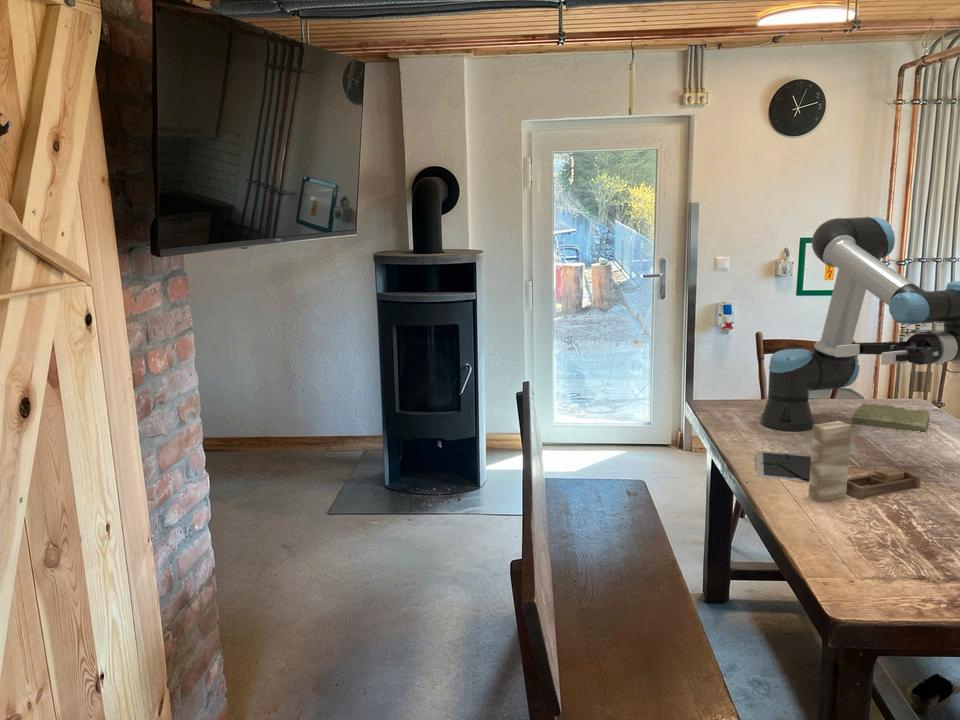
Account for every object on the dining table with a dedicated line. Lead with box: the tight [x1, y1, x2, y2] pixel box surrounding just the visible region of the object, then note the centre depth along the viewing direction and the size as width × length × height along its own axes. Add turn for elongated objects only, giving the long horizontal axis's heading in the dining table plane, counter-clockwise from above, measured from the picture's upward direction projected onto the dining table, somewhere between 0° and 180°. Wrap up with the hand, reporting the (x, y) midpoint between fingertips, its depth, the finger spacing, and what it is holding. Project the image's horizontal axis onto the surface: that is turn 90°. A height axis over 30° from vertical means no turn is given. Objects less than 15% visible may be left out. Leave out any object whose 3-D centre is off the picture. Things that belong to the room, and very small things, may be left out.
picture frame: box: [755, 450, 811, 483], centre depth 184 cm, size 16×3×21 cm
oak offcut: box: [874, 468, 904, 483], centre depth 169 cm, size 4×5×4 cm
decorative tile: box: [851, 403, 930, 433], centre depth 224 cm, size 19×20×4 cm
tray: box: [846, 465, 921, 501], centre depth 168 cm, size 8×18×4 cm, turn 109°
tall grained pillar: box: [808, 420, 852, 503], centre depth 162 cm, size 4×8×18 cm, turn 109°
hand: (858, 355), depth 166 cm, fingers open, 13 cm apart
